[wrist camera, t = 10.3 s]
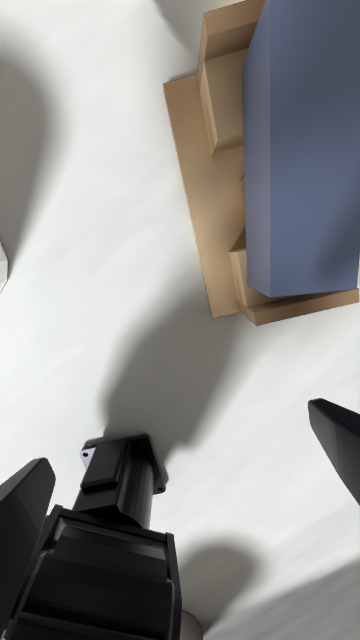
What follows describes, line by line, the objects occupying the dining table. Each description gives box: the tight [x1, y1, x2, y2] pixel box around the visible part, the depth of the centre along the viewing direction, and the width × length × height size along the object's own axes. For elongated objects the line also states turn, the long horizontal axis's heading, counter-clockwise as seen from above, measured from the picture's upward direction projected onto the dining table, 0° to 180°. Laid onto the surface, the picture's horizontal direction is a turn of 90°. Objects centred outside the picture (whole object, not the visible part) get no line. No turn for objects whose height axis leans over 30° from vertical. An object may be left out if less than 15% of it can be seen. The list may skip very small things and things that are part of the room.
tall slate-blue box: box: [241, 0, 360, 297], centre depth 12 cm, size 11×4×4 cm, turn 6°
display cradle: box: [163, 0, 359, 326], centre depth 15 cm, size 10×15×5 cm, turn 14°
